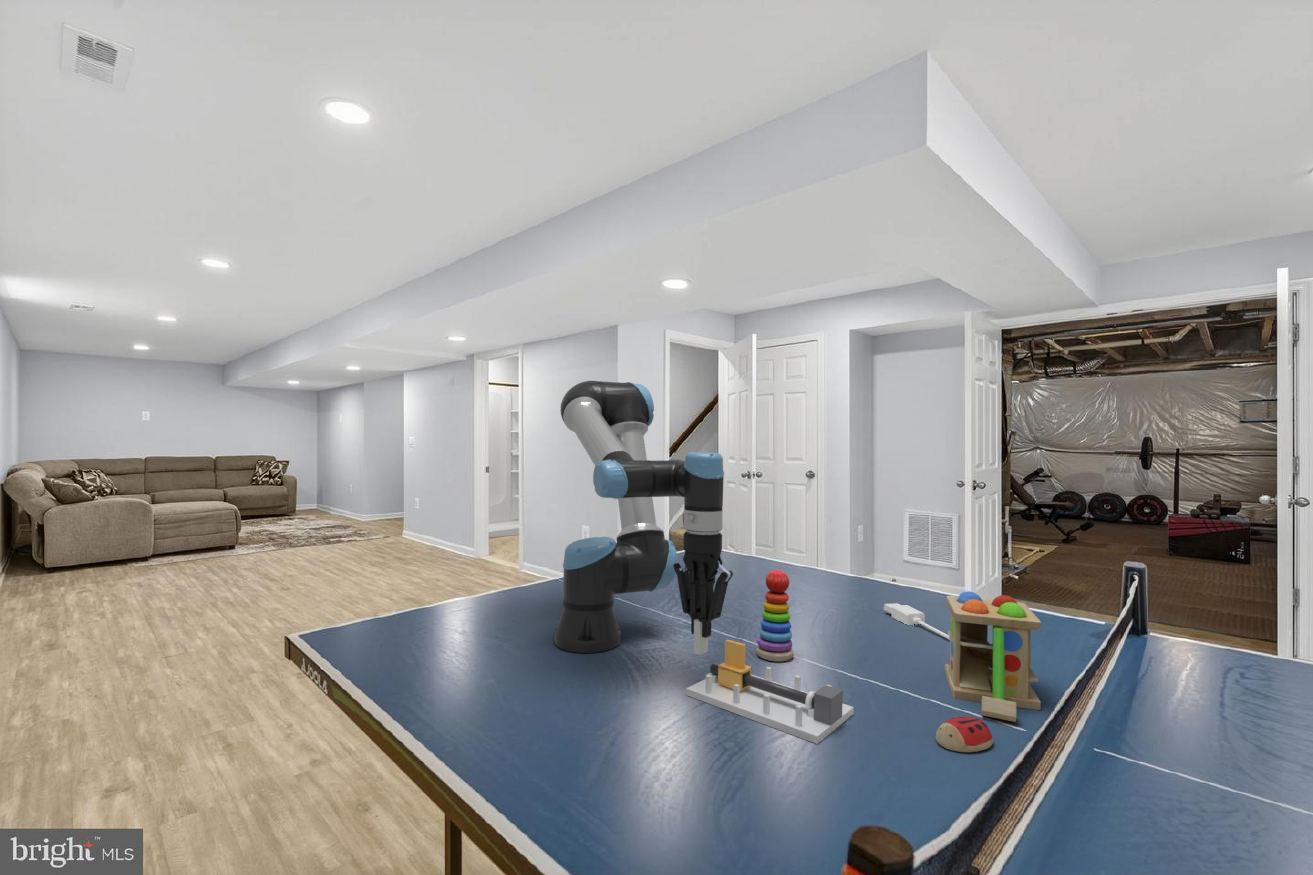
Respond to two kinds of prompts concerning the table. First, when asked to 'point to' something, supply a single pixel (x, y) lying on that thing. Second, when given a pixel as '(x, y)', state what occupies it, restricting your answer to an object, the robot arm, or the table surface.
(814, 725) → the slider track board
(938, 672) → the table surface
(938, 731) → the ladybug figurine
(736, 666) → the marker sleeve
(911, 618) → the charging cable
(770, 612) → the stacking toy
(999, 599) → the pounding bench toy
